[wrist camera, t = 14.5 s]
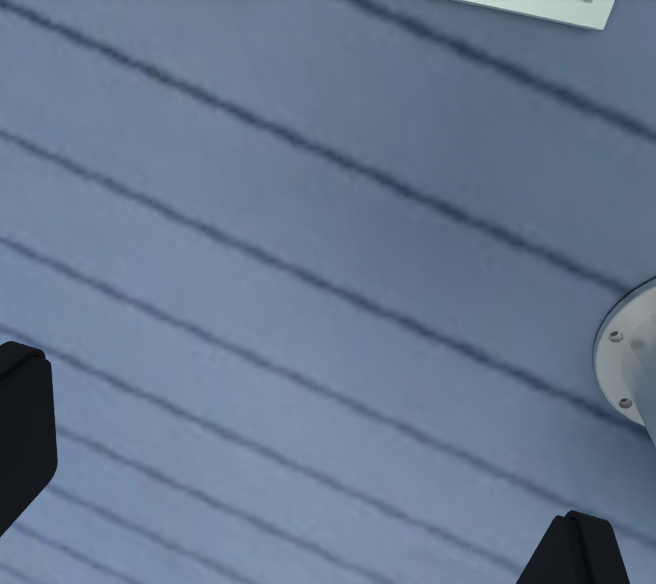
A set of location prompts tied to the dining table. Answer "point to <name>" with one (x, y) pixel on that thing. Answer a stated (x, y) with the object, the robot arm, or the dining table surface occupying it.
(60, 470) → the dining table surface
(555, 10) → the tray
